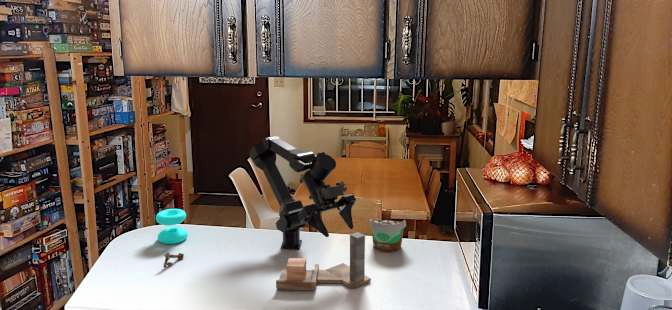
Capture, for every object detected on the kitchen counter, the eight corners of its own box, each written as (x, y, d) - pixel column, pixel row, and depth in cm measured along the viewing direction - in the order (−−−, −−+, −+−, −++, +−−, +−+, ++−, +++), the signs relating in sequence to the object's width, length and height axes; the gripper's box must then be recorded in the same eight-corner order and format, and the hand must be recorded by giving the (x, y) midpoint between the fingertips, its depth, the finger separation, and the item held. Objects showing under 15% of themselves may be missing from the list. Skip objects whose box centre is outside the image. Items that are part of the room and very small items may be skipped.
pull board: (261, 280, 147) (259, 233, 144) (326, 256, 162) (326, 213, 158) (302, 310, 132) (301, 258, 128) (370, 281, 146) (371, 234, 143)
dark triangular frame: (159, 267, 154) (162, 252, 155) (176, 266, 162) (179, 252, 162) (164, 268, 153) (167, 253, 154) (181, 267, 161) (184, 253, 161)
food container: (366, 252, 166) (367, 223, 163) (369, 244, 172) (369, 216, 169) (404, 255, 164) (405, 226, 161) (405, 247, 169) (406, 219, 167)
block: (289, 273, 149) (288, 258, 148) (306, 274, 149) (305, 258, 147) (286, 282, 144) (286, 266, 143) (304, 282, 144) (304, 266, 143)
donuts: (185, 206, 180) (186, 215, 171) (187, 232, 182) (188, 243, 173) (155, 209, 177) (155, 219, 168) (157, 236, 179) (158, 247, 170)
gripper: (302, 179, 142) (327, 228, 137) (352, 168, 154) (377, 212, 148) (287, 199, 150) (310, 245, 145) (336, 186, 162) (359, 229, 156)
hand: (340, 232), depth 148 cm, fingers open, 9 cm apart
